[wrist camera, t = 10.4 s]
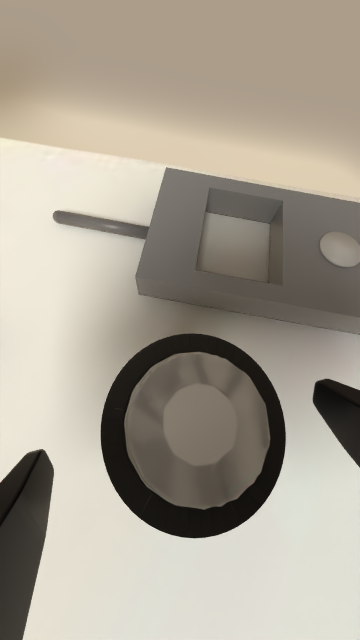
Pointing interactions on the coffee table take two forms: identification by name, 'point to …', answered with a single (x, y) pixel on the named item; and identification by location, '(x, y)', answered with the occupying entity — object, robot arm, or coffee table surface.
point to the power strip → (284, 253)
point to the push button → (193, 435)
